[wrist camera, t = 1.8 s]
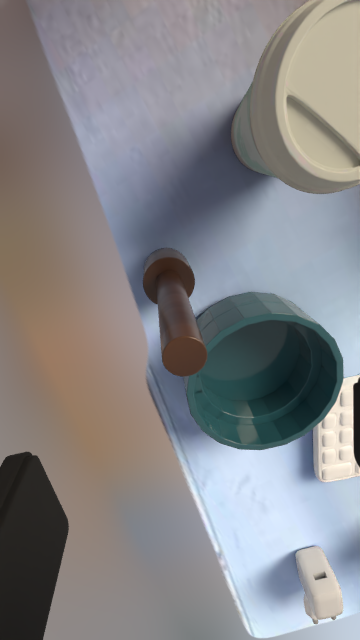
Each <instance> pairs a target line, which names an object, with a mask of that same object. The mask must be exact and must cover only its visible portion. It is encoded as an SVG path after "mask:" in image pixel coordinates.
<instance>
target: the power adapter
mask: <svg viewBox="0 0 360 640" xmlns="http://www.w3.org/2000/svg"><path fill="white" fill-rule="evenodd" d="M295 556H296V563H297V569H298V574H299V578H300V581H301V584H302V586H303V589H304V592H305V595H304V606H305V612H306V614H307V615H308V616H310V617H311V618H312V619H313V623H314V624H318V619H319V620H321V619H326V618H330V617H331V618H332V619H333V620H335V619H336V616H337V615H340V614H342V612H343V601H342V593H341V588H340V585H339V583H338V581H337V579H336V577H335V574H334V572H333V570H332V568H331V566H330V564H329V562H328V560H327V558H326V556H325V554H324V552H323V550H322V549H321V548H320V547H319V546H314V547H310V548H306V549H302V550H299V551H297V553H296V554H295Z"/></svg>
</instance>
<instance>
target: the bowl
mask: <svg viewBox="0 0 360 640" xmlns="http://www.w3.org/2000/svg"><path fill="white" fill-rule="evenodd" d="M196 321H197V324H198V327H199V330H200V332H201V335H202V338H203V341H204V344H205V347H206V349H207V361H206V363H205V365H204V367H203V368H202V369H201V370H200V371H199V372H197V373H196V374H193V375H191V376H184V377H183V379H184V384H185V390H186V395H187V400H188V404H189V408H190V412H191V415H192V417H193V418H194V420H195V421H196V422H197V424H198V425H199V427H200V428H201V430H202V431H203V432H205V433H206V434H207V435H209V436H210V437H212V438H213V439H215V440H216V441H217V442H219V443H221V444H224V445H227V446H231V447H234V448H237V449H245V450H264V449H268V448H273V447H277V446H282V445H285V444H288V443H290V442H292V441H294V440H296V439H298V438H300V437H302V436H304V435H305V434H307V433H308V432H309V431H310V430H312V429H313V428H314V427H315V426H316V425H318V424H319V423H320V422H321V421H322V420H324V418H325V417H326V415H327V414H328V413H329V411H330V410H331V408H332V407H333V406H334V404H335V403H336V401H337V398H338V395H339V392H340V389H341V386H342V383H343V358H342V356H341V353H340V351H339V348H338V346H337V343H336V341H335V339H334V338H333V337H332V336H331V335H330V334H329V333H328V332H327V331H326V330H325V329H324V328H323V327H322V326H321V325H320V324H318V323H317V322H316V321H315V320H313V319H312V318H311V317H310V316H308V315H307V314H306V313H305V312H304V311H302V310H301V309H300V308H299V307H297V306H296V305H295V304H294V303H292V302H291V301H288V300H286V299H284V298H282V297H279V296H277V295H275V294H269V293H258V292H248V293H244V294H239V295H235V296H230V297H227V298H226V299H224V300H222V301H220V302H218V303H217V304H215V305H213V306H211V307H209V308H208V309H207V310H206V311H205V312H204V313H203V314H202V315H201V316H200V317H199V318H198V319H197V320H196Z"/></svg>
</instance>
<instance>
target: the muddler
mask: <svg viewBox="0 0 360 640" xmlns="http://www.w3.org/2000/svg"><path fill="white" fill-rule="evenodd" d="M194 285H195V278H194V274H193V271H192V269H191V267H190V266H189V264H188V262H187V260H186V258H185V257H184V256H183V255H182V254H181V253H180V252H179V251H177V250H175V249H171V248H162V249H159V250H156V251H155V252H153V253H152V254H151V255H150V256H149V257H148V258H147V260H146V262H145V265H144V274H143V287H144V290H145V293H146V295H147V296H148V298H149V299H150V300H151V301H152V302H154V303H155V304H157V305H158V314H159V327H160V340H161V353H162V362H163V365H164V366H165V368H166V369H167V370H168V371H169V372H170V373H172V374H174V375H177V376H183V377H184V376H191V375H193V374H196V373H197V372H199V371H200V370H201V369H202V368H203V367H204V365H205V363H206V361H207V349H206V347H205V344H204V341H203V338H202V335H201V332H200V330H199V327H198V324H197V321H196V318H195V316H194V313H193V310H192V307H191V304H190V301H189V299H188V298H189V297H190V296H191V294H192V292H193V290H194Z"/></svg>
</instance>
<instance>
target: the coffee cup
mask: <svg viewBox="0 0 360 640" xmlns="http://www.w3.org/2000/svg"><path fill="white" fill-rule="evenodd" d="M231 141H232V146H233V149H234V152H235V154H236V156H237V157H238V159H239V160H240V161H241V163H242V164H243V165H245V166H246V167H247V168H249V169H251V170H253V171H256V172H259V173H262V174H265V175H269V176H272V177H276V178H279V179H280V180H281V181H283V182H284V183H285V184H287V185H289V186H291V187H293V188H295V189H297V190H300V191H303V192H307V193H313V194H328V193H334V192H339V191H342V190H345V189H348V188H351V187H354V186H357V185H359V184H360V0H310V1H308V2H307V3H305V4H304V5H302V6H301V7H299V8H298V9H297V10H295V11H294V12H293V13H292V14H291V15H290V16H289V17H288V18H287V19H286V20H285V21H284V22H283V23H282V24H281V25H280V26H279V28H278V29H277V30H276V32H275V33H274V34H273V36H272V37H271V39H270V41H269V42H268V44H267V46H266V48H265V49H264V51H263V54H262V56H261V58H260V60H259V63H258V66H257V69H256V72H255V75H254V79H253V82H252V84H251V86H250V87H249V89H248V91H247V93H246V95H245V96H244V98H243V100H242V102H241V103H240V105H239V107H238V109H237V111H236V113H235V115H234V118H233V122H232V127H231Z"/></svg>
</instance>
